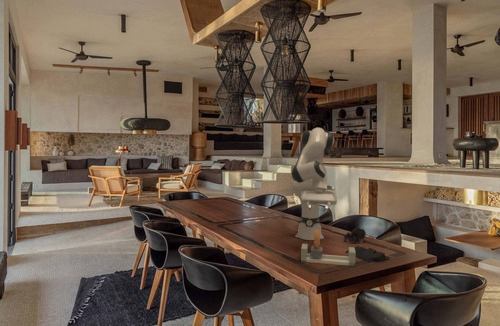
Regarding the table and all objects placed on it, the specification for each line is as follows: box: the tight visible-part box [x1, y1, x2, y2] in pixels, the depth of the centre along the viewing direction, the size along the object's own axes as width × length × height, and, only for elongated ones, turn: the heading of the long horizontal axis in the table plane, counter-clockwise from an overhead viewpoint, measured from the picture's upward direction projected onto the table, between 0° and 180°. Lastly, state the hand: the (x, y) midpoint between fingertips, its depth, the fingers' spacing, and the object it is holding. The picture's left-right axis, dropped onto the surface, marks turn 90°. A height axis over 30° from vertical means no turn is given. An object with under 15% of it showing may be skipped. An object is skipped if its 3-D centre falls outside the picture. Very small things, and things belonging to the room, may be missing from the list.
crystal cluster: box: [343, 226, 367, 244], centre depth 244 cm, size 13×14×10 cm
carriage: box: [310, 230, 323, 257], centre depth 203 cm, size 8×6×13 cm
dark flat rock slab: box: [345, 245, 390, 263], centre depth 212 cm, size 15×22×5 cm
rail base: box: [300, 243, 357, 267], centre depth 202 cm, size 10×28×7 cm, turn 78°
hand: (318, 209), depth 209 cm, fingers open, 8 cm apart
